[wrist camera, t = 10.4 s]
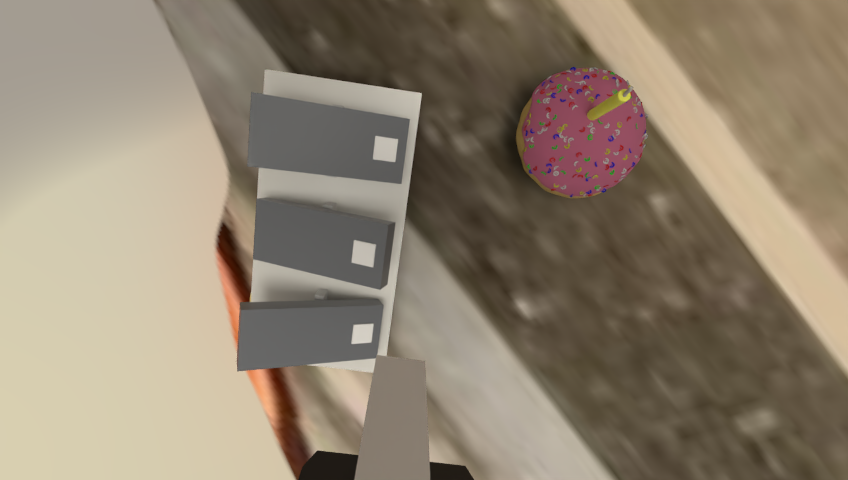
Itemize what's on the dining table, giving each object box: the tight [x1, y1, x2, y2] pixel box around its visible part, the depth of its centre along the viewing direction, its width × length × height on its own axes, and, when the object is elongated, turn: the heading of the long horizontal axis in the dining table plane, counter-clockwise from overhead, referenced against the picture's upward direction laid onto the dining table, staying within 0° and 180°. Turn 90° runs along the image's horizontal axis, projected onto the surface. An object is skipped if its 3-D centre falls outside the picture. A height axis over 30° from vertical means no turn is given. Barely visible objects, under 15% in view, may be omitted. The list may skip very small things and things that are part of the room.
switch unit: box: [250, 69, 422, 373], centre depth 31 cm, size 20×10×6 cm, turn 172°
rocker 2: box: [253, 197, 396, 290], centre depth 26 cm, size 4×9×1 cm, turn 82°
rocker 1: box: [247, 92, 410, 184], centre depth 25 cm, size 4×9×1 cm, turn 82°
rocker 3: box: [237, 299, 384, 371], centre depth 28 cm, size 4×9×1 cm, turn 82°
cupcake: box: [516, 67, 648, 198], centre depth 27 cm, size 9×8×12 cm
